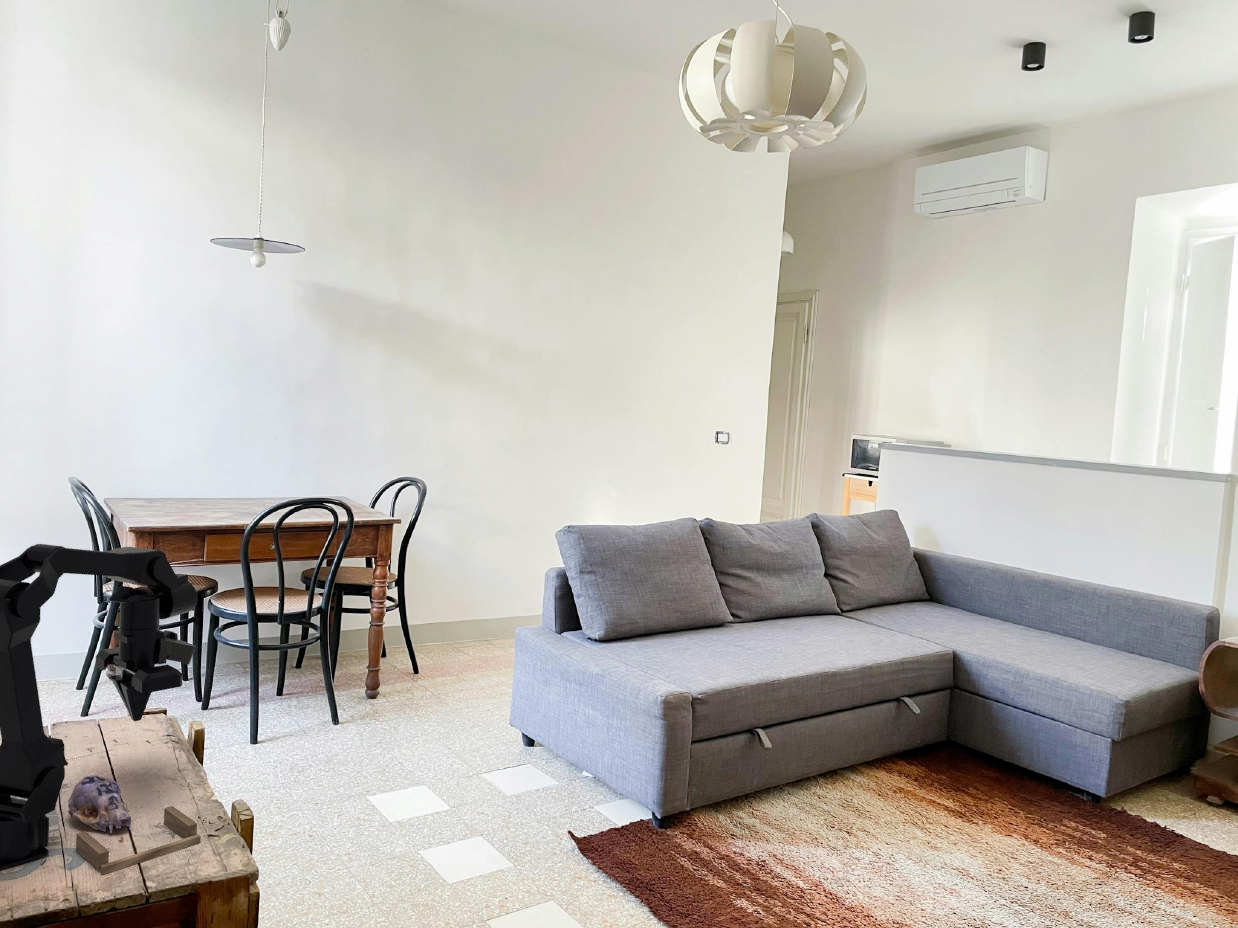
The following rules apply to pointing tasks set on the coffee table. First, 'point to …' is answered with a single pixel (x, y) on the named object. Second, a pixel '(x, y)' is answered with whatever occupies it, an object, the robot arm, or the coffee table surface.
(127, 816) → the skull
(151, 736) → the coffee table surface
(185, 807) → the coffee table surface
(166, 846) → the rail notch
